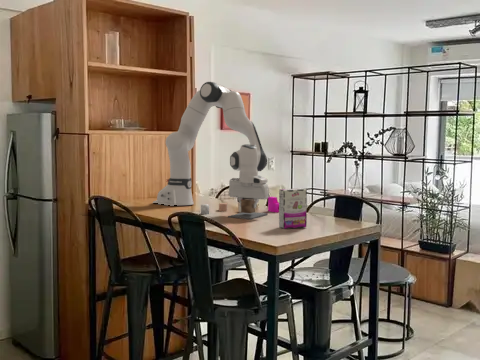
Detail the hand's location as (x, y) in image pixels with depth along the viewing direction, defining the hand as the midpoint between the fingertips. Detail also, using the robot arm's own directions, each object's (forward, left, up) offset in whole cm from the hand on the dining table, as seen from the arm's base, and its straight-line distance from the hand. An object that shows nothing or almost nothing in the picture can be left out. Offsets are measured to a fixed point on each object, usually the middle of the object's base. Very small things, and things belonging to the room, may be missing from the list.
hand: (248, 207), depth 260 cm
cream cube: (-8, +11, -4) cm, 14 cm away
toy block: (+6, +27, -5) cm, 29 cm away
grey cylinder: (-20, -7, -4) cm, 22 cm away
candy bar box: (+30, -17, -4) cm, 35 cm away
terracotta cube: (-19, +9, -4) cm, 21 cm away
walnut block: (0, 0, -2) cm, 2 cm away
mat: (0, 0, -4) cm, 4 cm away
